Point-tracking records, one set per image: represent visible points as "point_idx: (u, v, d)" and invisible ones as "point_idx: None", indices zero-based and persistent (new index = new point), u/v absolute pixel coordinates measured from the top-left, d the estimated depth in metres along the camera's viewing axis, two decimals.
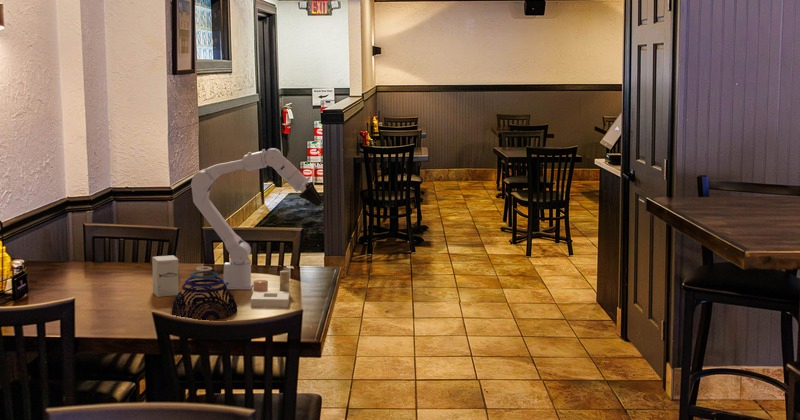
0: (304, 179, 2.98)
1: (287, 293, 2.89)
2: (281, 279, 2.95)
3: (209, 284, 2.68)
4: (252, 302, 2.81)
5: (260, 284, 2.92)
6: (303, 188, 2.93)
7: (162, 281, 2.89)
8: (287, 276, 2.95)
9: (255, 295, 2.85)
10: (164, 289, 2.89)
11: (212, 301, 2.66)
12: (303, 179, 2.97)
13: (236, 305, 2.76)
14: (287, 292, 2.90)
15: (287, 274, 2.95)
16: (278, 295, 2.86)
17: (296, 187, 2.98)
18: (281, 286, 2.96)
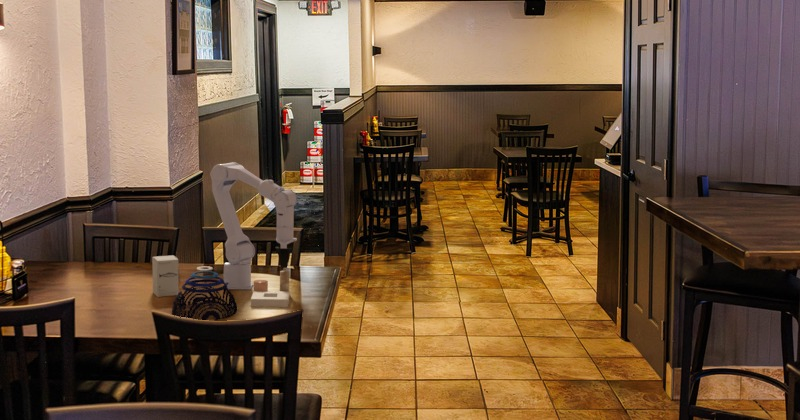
0: (291, 238, 2.93)
1: (287, 293, 2.89)
2: (281, 279, 2.95)
3: (209, 284, 2.68)
4: (252, 302, 2.81)
5: (260, 284, 2.92)
6: (284, 246, 2.87)
7: (162, 281, 2.89)
8: (287, 276, 2.95)
9: (255, 295, 2.85)
10: (164, 289, 2.89)
11: (212, 301, 2.66)
12: (290, 237, 2.92)
13: (236, 305, 2.76)
14: (287, 292, 2.90)
15: (287, 274, 2.95)
16: (278, 295, 2.86)
17: (279, 238, 2.92)
18: (281, 286, 2.96)
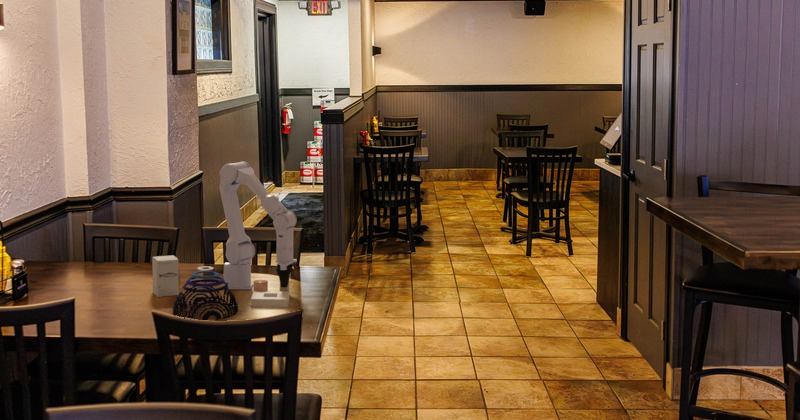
0: (291, 259, 2.94)
1: (287, 293, 2.89)
2: None
3: (210, 284, 2.68)
4: (252, 302, 2.81)
5: (260, 284, 2.92)
6: (284, 267, 2.88)
7: (162, 281, 2.89)
8: None
9: (255, 295, 2.85)
10: (164, 289, 2.89)
11: (213, 301, 2.66)
12: (289, 258, 2.93)
13: (237, 305, 2.76)
14: (287, 292, 2.90)
15: None
16: (278, 295, 2.86)
17: (279, 259, 2.93)
18: None
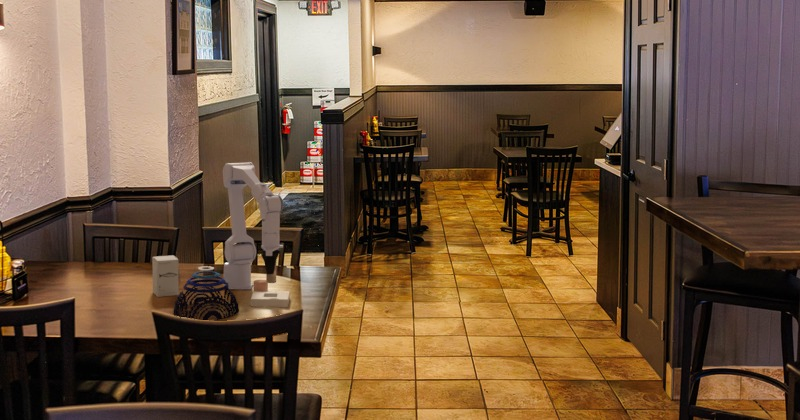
0: (277, 245, 2.82)
1: (287, 293, 2.89)
2: None
3: (211, 284, 2.68)
4: (252, 302, 2.81)
5: (260, 284, 2.92)
6: (270, 253, 2.77)
7: (162, 281, 2.89)
8: None
9: (255, 295, 2.85)
10: (164, 289, 2.89)
11: (214, 301, 2.66)
12: (275, 244, 2.81)
13: (238, 305, 2.76)
14: (287, 292, 2.90)
15: None
16: (278, 295, 2.86)
17: (265, 245, 2.81)
18: None
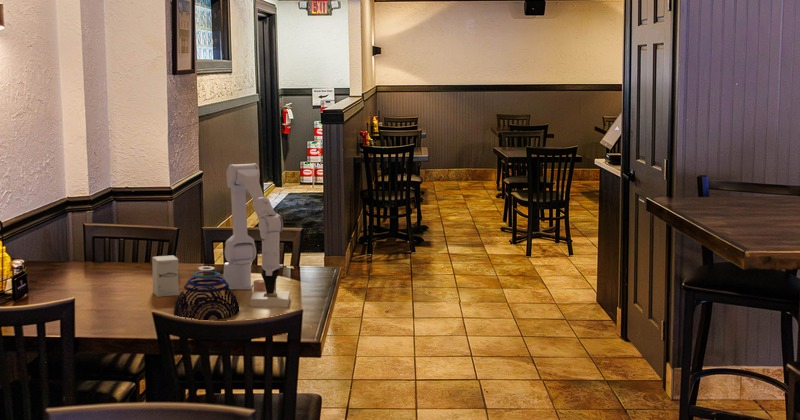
0: (277, 264, 2.83)
1: (287, 293, 2.89)
2: None
3: (211, 284, 2.68)
4: (252, 302, 2.81)
5: (260, 284, 2.92)
6: (270, 273, 2.78)
7: (162, 281, 2.89)
8: None
9: (255, 295, 2.85)
10: (164, 289, 2.89)
11: (214, 301, 2.66)
12: (275, 264, 2.83)
13: (238, 305, 2.76)
14: (287, 292, 2.90)
15: None
16: (278, 295, 2.86)
17: (265, 264, 2.82)
18: None
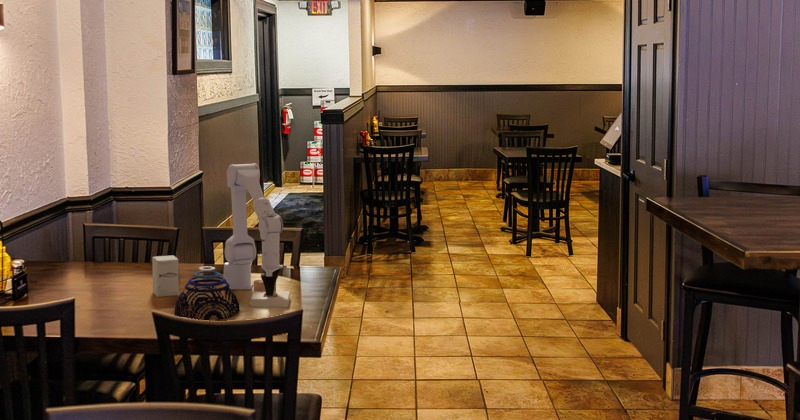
0: (277, 265, 2.83)
1: (287, 293, 2.89)
2: None
3: (212, 284, 2.68)
4: (252, 302, 2.81)
5: (260, 284, 2.92)
6: (270, 274, 2.78)
7: (162, 281, 2.89)
8: None
9: (255, 295, 2.85)
10: (164, 289, 2.89)
11: (215, 301, 2.66)
12: (275, 264, 2.83)
13: (239, 305, 2.76)
14: (287, 292, 2.90)
15: None
16: (278, 295, 2.86)
17: (265, 265, 2.82)
18: None
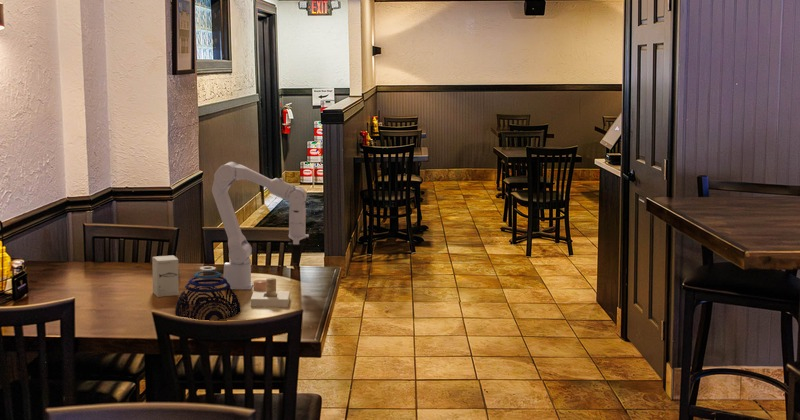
0: (303, 234, 2.99)
1: (287, 293, 2.89)
2: (268, 287, 2.85)
3: (213, 284, 2.68)
4: (252, 302, 2.81)
5: (260, 284, 2.92)
6: (297, 242, 2.94)
7: (162, 281, 2.89)
8: (274, 284, 2.85)
9: (255, 295, 2.85)
10: (164, 289, 2.89)
11: (216, 301, 2.67)
12: (302, 233, 2.99)
13: (239, 305, 2.77)
14: (287, 292, 2.90)
15: (274, 282, 2.85)
16: (278, 295, 2.86)
17: (292, 234, 2.98)
18: (268, 294, 2.85)
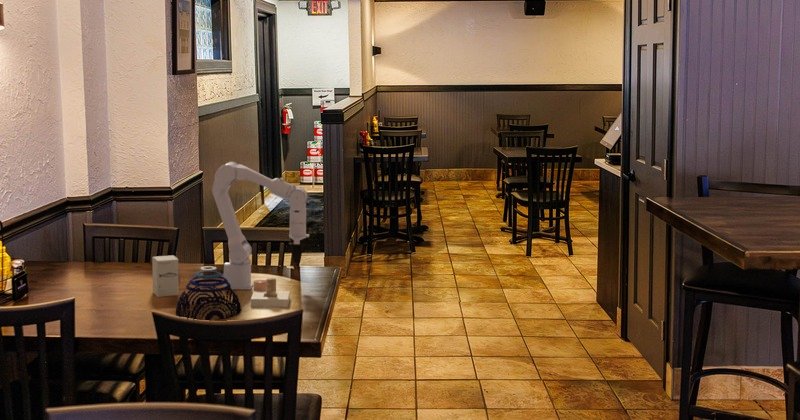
0: (304, 234, 3.00)
1: (287, 293, 2.89)
2: (268, 287, 2.85)
3: (213, 284, 2.68)
4: (252, 302, 2.81)
5: (260, 284, 2.92)
6: (297, 242, 2.94)
7: (162, 281, 2.89)
8: (274, 284, 2.85)
9: (255, 295, 2.85)
10: (164, 289, 2.89)
11: (216, 301, 2.67)
12: (302, 233, 2.99)
13: (240, 305, 2.77)
14: (287, 292, 2.90)
15: (274, 282, 2.85)
16: (278, 295, 2.86)
17: (292, 234, 2.99)
18: (268, 294, 2.85)
